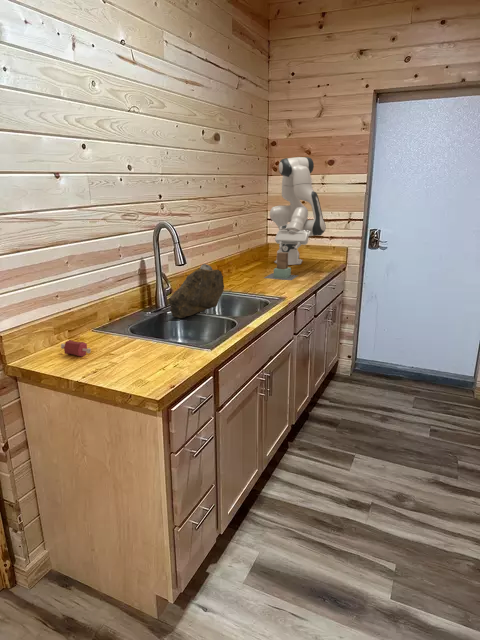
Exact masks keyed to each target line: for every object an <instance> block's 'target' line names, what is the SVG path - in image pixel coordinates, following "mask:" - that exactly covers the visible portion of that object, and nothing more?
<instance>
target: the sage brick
mask: <svg viewBox="0 0 480 640" xmlns="http://www.w3.org/2000/svg"><path fill="white" fill-rule="evenodd" d="M273 273H274V278H286V279H287V278H288V277H290V276H291V275H292V267H288V268H287V269H277V267H275V268H273Z"/></svg>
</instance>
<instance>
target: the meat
mask: <svg viewBox="0 0 480 640" xmlns="http://www.w3.org/2000/svg"><path fill="white" fill-rule="evenodd" d="M60 349H63V351H64V354H66V355H71V356H72V355H75V356H78V357H80V358H83V357H85V356H86V355H87V354H90V353H91V352H92V349H91V348H90V347H88V343H86V342H84V341H74V340H71V339H69V340H67V341H65V343H61V344H60Z"/></svg>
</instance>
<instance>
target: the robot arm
mask: <svg viewBox="0 0 480 640" xmlns="http://www.w3.org/2000/svg"><path fill="white" fill-rule="evenodd" d="M314 164H315V163H314V160H313V159H312V158H311V157H308V156H305V157H304V156H303V157H302V156H296V157H289V158H285V157H284V158H282V159H280V161H279V163H278V172H279V174H280V175H281V176H282V180H281V197H282V198H283V200H286V201H287V202H289V203H290V204H289V205H276V206H272V207H271V208H270V211H269V218H270V220H271V221H272V222H273V223H274V224H275V225H276V226H277V228H278V231H277V233H276V235H275V237H274V240H275V243H276V244H279V245H278V247H279V249H278V250H277V251H276V254H277V253H279V252H285V253H288V266H292V265H301V264H302V263H303V259H301V258H300V252H299V250H298V249H299V248H300V247H301V246H302V245H303V246H304V245H307V244H308V242H309V237H312V236H313V237H314V236H319V237H320V236H322V235H323V234H325V232H326V229H327V226H326V223H325V219H324V216H323V212H322V208H321V203H320V199H319V195H318V193H317V192H316V191H314V189H313V185H312V183H313V182H312V176H311V174H312V173H313V171H314ZM302 201H304V202H308V203H309V204H310V206H311V211H312V215H313V219H309V218H308V216H309V209H308V208H307V206H305V205H304V204H303V203H302ZM274 263H275V264H277V259H275V260H274Z"/></svg>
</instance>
